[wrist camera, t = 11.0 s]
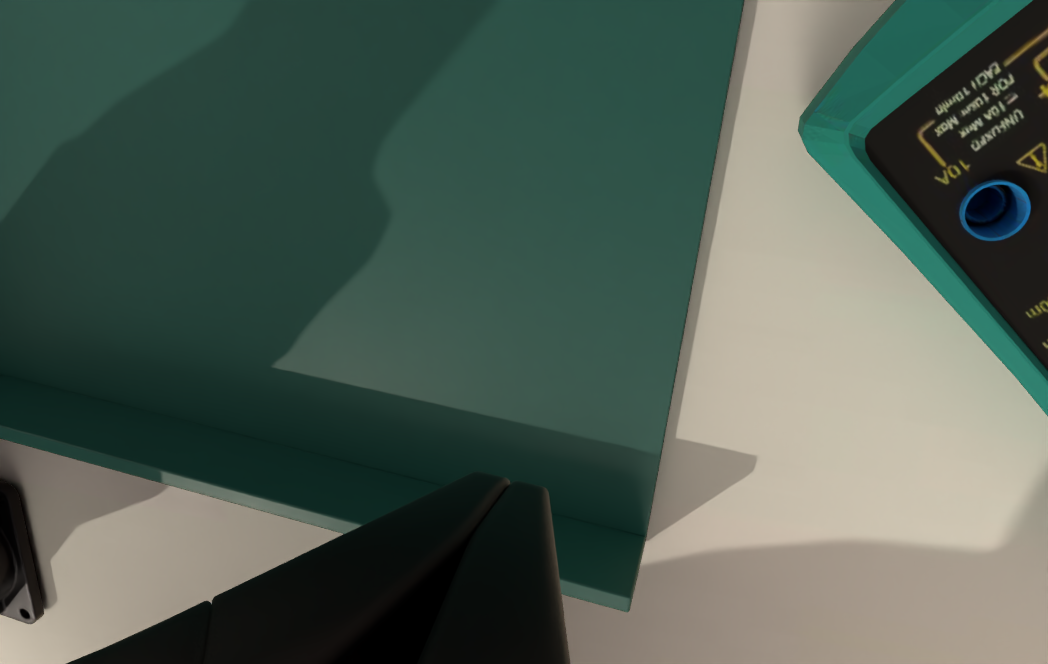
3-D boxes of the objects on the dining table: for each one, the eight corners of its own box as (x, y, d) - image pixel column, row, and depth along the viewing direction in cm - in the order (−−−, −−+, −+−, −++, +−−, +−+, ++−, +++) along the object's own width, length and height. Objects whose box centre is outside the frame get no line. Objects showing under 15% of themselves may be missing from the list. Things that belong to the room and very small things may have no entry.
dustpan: (777, -180, 14) (780, -228, 11) (644, 544, 21) (629, 613, 18) (-352, -207, 21) (-500, -240, 19) (-184, 333, 28) (-277, 362, 25)
